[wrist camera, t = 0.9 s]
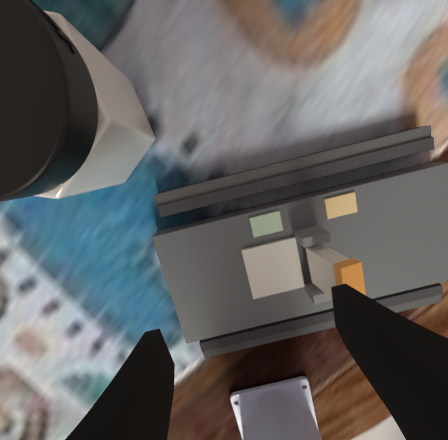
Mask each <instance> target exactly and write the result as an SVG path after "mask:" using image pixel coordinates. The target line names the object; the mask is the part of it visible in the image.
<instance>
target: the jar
mask: <svg viewBox="0 0 448 440" xmlns="http://www.w3.org/2000/svg"><path fill="white" fill-rule="evenodd" d="M154 141H155V135H154V133H153V131H152V128H151V126H150V124H149V122H148V119H147V117H146V115H145V112H144V110H143V108H142V106H141V103H140V101H139V99H138V97H137V94H136V92H135V90H134V87H133V85H132V83H131V81H130V80H129V79H128V78H127V77H126V76H125V75H124V74H123V73H121V72H120V71H119V70H118V69H117V68H116V67H115V66H114V65H113V64H112V63H111V62H110V61H109V60H108V59H107V58H106V57H105V56H104V55H103V54H102V53H101V52H100V51H99V50H97V49H96V48H95V47H94V46H93V45H92V44H91V43H90V42H89V41H88V40H87V39H86V38H85V37H84V36H83V35H82V34H81V33H80V32H79V31H78V30H77V29H76V28H75V27H73V26H72V25H71V24H70V23H69V22H68V21H67V20H66V19H65V18H64V17H63V16H62V15H61V14H59V13H56V12H50V11H45V10H42V9H41V8H40V7H39V6H38V5H36V4H35V3H34V2H33V1H32V0H0V202H2V201H8V200H13V199H18V198H24V197H29V196H39V197H46V198H54V199H60V198H64V197H68V196H72V195H77V194H81V193H85V192H89V191H93V190H98V189H102V188H106V187H110V186H115V185H119V184H123V183H125V182H126V180H127V179H128V177H129V176H130V175H131V173H132V172H133V170H134V169H135V167H136V166H137V165H138V163H139V162H140V160H141V159H142V158H143V156H144V155H145V153H146V152H147V151H148V149H149V148H150V146H151V145H152V144H153V142H154Z"/></svg>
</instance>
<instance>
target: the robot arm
mask: <svg viewBox="0 0 448 440" xmlns="http://www.w3.org/2000/svg"><path fill="white" fill-rule="evenodd" d="M331 292H332V301H333V310H334V319H335V326H336V328H337V330H338V332H339V334H340V336H341V338H342V340H343V342H344V344H345V346H346V347H347V349H348V351H349V352H350V354H351V355H352V357H353V358H354V360H355V361H356V363H357V364H358V366H359V367H360V369H361V370H362V372H363V373H364V375H365V376H366V378H367V379H368V381H369V382H370V384H371V385H372V386H373V388H374V389H375V391H376V392H377V394H378V395H379V397H380V398H381V400H382V401H383V403H384V404H385V406H386V407H387V409H388V410H389V412H390V413H391V415H392V416H393V418H394V420H395V421H396V423H397V424H398V426H399V428H400V430H401V431H402V433H403V435H404V437H405V438H406V440H448V338H446V337H443V336H441V335H439V334H437V333H435V332H433V331H431V330H429V329H427V328H425V327H423V326H421V325H419V324H417V323H415V322H413V321H411V320H409V319H407V318H405V317H403V316H401V315H399V314H397V313H396V312H394V311H392V310H390V309H388V308H387V307H385V306H383V305H381V304H380V303H378V302H376V301H374V300H373V299H371V298H369V297H368V296H366V295H364V294H363V293H361V292H359V291H358V290H356V289H354V288H353V287H351V286H349V285H347V284H342V285H338V286H333V287H331ZM174 365H175V364H174V362H173V360H172V357H171V355H170V352H169V350H168V348H167V345H166V343H165V341H164V338H163V336H162V334H161V331H160V329H156V330H152V331H148V332H145V333H144V335H143V336H142V337H141V339H140V340H139V342H138V343H137V345H136V346H135V348H134V349H133V351H132V352H131V354H130V355H129V357H128V358H127V360H126V361H125V363H124V364H123V366H122V367H121V368H120V370H119V371H118V373H117V374H116V376H115V377H114V379H113V380H112V381H111V383H110V384H109V385H108V387H107V388H106V389H105V391H104V392H103V393H102V395H101V396H100V397H99V399H98V400H97V401H96V403H95V404H94V405H93V407H92V408H91V409H90V411H89V412H88V413H87V414H86V416H85V417H84V418H83V419H82V421H81V422H80V423H79V424H78V425H77V427H76V428H75V429H74V430H73V431H72V432H71V434H70V435H69V436H68V437H67V438H66V439H65V440H167V435H168V428H169V421H170V415H171V407H172V400H173V393H174ZM303 385H305V386H303ZM230 400H231V403H232V407H233V410H234V413H235V417H236V420H237V423H238V427H239V430H240V433H241V437H242V440H322V438H321V436H320V433H319V430H318V425H317V420H316V415H315V411H314V406H313V401H312V396H311V391H310V387H309V382H308V379H307V377H305V376H300V377H296V378H292V379H288V380H283V381H279V382H275V383H271V384H266V385H262V386H258V387H254V388H250V389H245V390H241V391H237V392H233V393H232V394H231V395H230ZM235 401H237V402H235Z"/></svg>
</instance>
